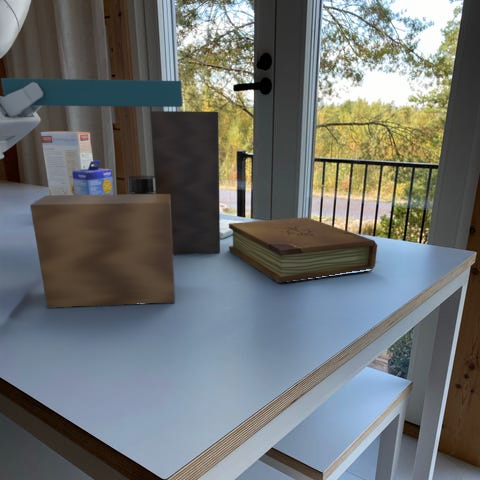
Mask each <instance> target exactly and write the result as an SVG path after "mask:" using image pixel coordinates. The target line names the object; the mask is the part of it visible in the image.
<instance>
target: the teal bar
mask: <svg viewBox="0 0 480 480" xmlns="http://www.w3.org/2000/svg"><path fill="white" fill-rule="evenodd" d="M0 80H1V82H0V83H1V88H2V93H3V97H5V96H6V95H8V94H11V93H13V92H15V91H18V90H20V89H23V88H24V87H26V86H27V85H29V84H30V83H32V82H34V83H38V84H39V85H40V86H41V88H42V89H43V91H44V92H45V96H44V97H43V98H42V99H40V100H39V101H37V102H36V103H33V104H31V105H30V106H41V107H44V106H45V107H139V108H141V107H143V108H144V107H145V108H146V107H153V108H182V107H183V88H182V84H183V83H182V80H145V79H141V80H140V79H84V78H83V79H82V78H80V79H79V78H76V79H75V78H19V77H17V78H13V77H1V78H0Z"/></svg>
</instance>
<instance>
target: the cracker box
mask: <svg viewBox="0 0 480 480" xmlns="http://www.w3.org/2000/svg"><path fill="white" fill-rule="evenodd" d="M40 137H41V145H42V151H43V158H44V164H45V171H46V178H47V184H48V192H49V195H75V192H74V183H73V174H72V171H76V170H82V169H88V168H89V165H90V163H91V161H94V160H93V159H94V157H93V151H92V150H93V149H92V141H91V132H89V131H66V130H65V131H64V130H63V131H59V130H57V131H56V130H55V131H41V132H40ZM91 166H94V164H92V165H91Z"/></svg>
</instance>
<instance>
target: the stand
mask: <svg viewBox="0 0 480 480" xmlns="http://www.w3.org/2000/svg"><path fill="white" fill-rule="evenodd" d="M150 124H151V125H150V127H151V140H152V142H151V143H152V156H153V158H152V159H153V172H154V176H155V190H156V194H170V199H171V219H172V238H173V255H195V254H194V253H203V254H211V253H210V252H220V253H221V239H220V220H221V218H220V217H221V215H220V213H221V212H220V136H219V135H220V134H219V133H220V130H219V128H220V127H219V126H220V125H219V111H195V110H194V111H184V110H183V111H181V110H180V111H177V110H176V111H175V110H170V111H169V110H151V111H150Z"/></svg>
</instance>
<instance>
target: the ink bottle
mask: <svg viewBox="0 0 480 480" xmlns="http://www.w3.org/2000/svg"><path fill="white" fill-rule="evenodd" d="M127 188H128V194H156V190H155V175H131V176H127Z"/></svg>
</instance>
